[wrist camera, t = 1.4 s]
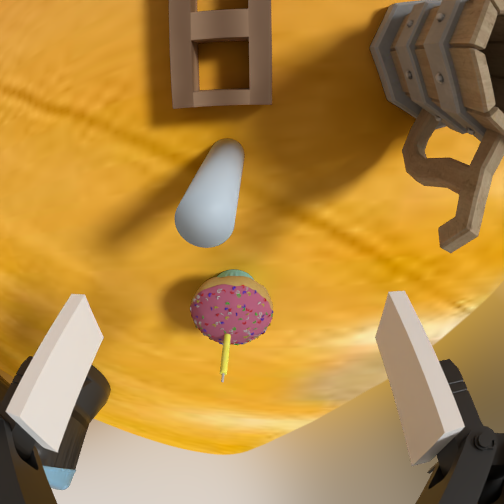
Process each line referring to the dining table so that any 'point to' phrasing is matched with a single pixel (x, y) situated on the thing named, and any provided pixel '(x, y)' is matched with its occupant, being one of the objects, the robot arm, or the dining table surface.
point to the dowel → (212, 197)
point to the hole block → (219, 30)
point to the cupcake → (231, 310)
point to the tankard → (448, 95)
